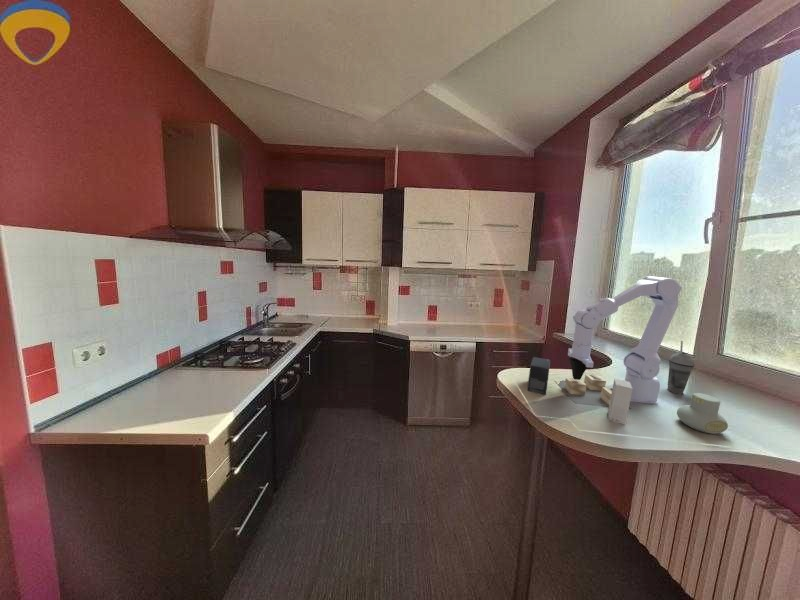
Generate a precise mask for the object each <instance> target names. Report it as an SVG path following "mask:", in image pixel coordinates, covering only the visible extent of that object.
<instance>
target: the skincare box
mask: <svg viewBox="0 0 800 600" xmlns="http://www.w3.org/2000/svg"><path fill="white" fill-rule="evenodd" d="M613 379H614V381H613V385H612V388H613V389H612V394H611V399H610V404H609V407H608V410H607V416H608V421H612V422H614V423H619V424H623V425H626V423H627V419H628V418H627V417H628V413H629V410H630V409H629V407H630V403H631V401H630V399H631V394H632V389H633V388H632V386H631V383H630V382H628V381H625V380H622V379H620V378H619V379H618V378H613Z"/></svg>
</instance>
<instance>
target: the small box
mask: <svg viewBox="0 0 800 600" xmlns="http://www.w3.org/2000/svg"><path fill="white" fill-rule="evenodd" d="M550 366H551V360H550V359H547V358H541V357H536V356H533V357H532V359H531V363H530V368H529V372H528V373H529V374H528V382H527V391H528V392H531V393H535V394H540V395H543V396H546V395H547V390H548V383H549V382H548V381H549V373H550Z"/></svg>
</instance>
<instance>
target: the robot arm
mask: <svg viewBox="0 0 800 600" xmlns="http://www.w3.org/2000/svg"><path fill="white" fill-rule="evenodd" d="M681 291H682V286H681V285H680V283H679V282H678V281H677V280H676V279H675V278H673V277H660V276H654V275H647V276H645V277H643V278H642V279H639V280H637V281H636V282H635V284H633V285H632V286H629V287H628V288H627V289H625V290H623V291H621V292H620V293H618V294H617V295H615V296H613V297H612V298H609V297H604V298H603V297H602V298H600V299H599V301H598V302H595V303H594V304H592V305H591V306H589V305H588V306H586V308H585V309H580V310H579V309H578V310H577V311H576V312H575V314H574V315H573V317H572V319H573V321H574V323H575V325H574V327H575V328H574V334H573V340H572V341H573V342H572V346H571V348H570V347H568V351H567V356H568V357H569V358H568V360H569V363H570V366H571V372H572V378H573V379H577V380H581V379H582V377H583V375H584V373H585V371H586V370H587V369H588V368H589V369H590V368H591V369H592V368H594V361H593V360H592V358H591V351H592V344H593V339H594V333H595V332H594V331H595V328H597V327H598V326H599V325H600V322H602V321H603V320H604V319H607V318H609V317H610V316H611V315H613V314H616V313H617V312H618V311H619V307H621V306H624V305H625V304H627V303H630V302H632V301H634V300H637V299H638V298H640V297H643V296H644V297H646V296H647V297H649V298H650V299H651V301H652V302H653V303H654V305H655V306H654V308H653V309H652V313H651V315H650V316H649V320H648V322H647V324H646V327H645V329H644V331H643V333H642V336H641V338H640V341H639V342H638V345H637V346H634V347H633V348H630V351H629V353H627V354H626V355H625V356H624V358H623V364H624V367H625V370H626V372H625V377H624V381H628V382H630V383H631V386H632V388H633V389H632V394H631V399H630V402H636V403H645V404H656V405H659V402H658V398H659V393H660V390H661V389H660V388H661V384H660V380H659V378H657V377H656V376H658V375H659V373H660V364H661V362H662V361H661V358H660V356H659V354H658V351H659V349H660V346H661V344H662V343H663V340H664V338H665V336H666V333H667V331H668V329H669V327H670V324H671V322H672V320H673V318H674V316H675V313H676V311H677V310H678V307H679V294H680V292H681ZM571 357H572V358H571Z"/></svg>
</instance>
